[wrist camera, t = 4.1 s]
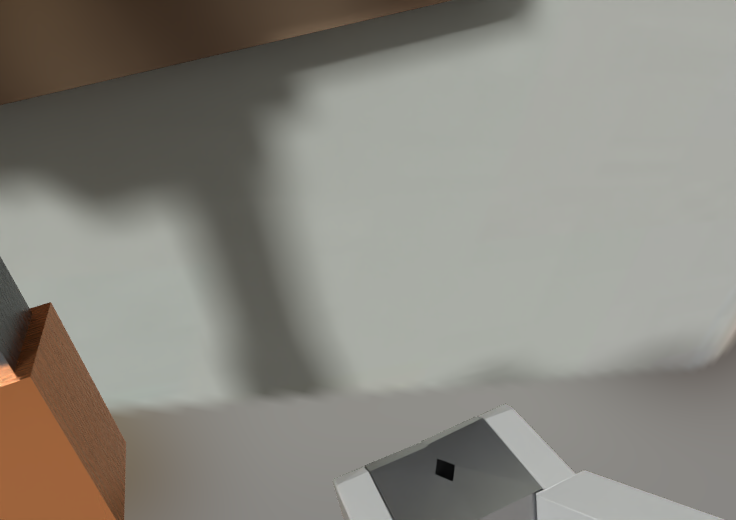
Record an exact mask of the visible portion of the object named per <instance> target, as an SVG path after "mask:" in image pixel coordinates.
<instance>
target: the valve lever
mask: <svg viewBox="0 0 736 520" xmlns="http://www.w3.org/2000/svg"><path fill="white" fill-rule="evenodd" d="M125 462H126V442H125V440H124V438H123V436H122V434H121V433H120V431H119V429H118V427H117V425H116V423H115V421H114V419H113V418H112V416H111V414H110V412H109V410H108V408H107V406H106V404H105V403H104V401H103V399H102V397H101V395H100V393H99V391H98V390H97V388H96V386H95V384H94V382H93V380H92V378H91V376H90V375H89V373H88V371H87V369H86V367H85V365H84V363H83V361H82V360H81V358H80V356H79V354H78V352H77V350H76V348H75V346H74V345H73V343H72V341H71V339H70V337H69V335H68V333H67V331H66V330H65V328H64V326H63V324H62V322H61V320H60V318H59V316H58V315H57V313H56V311H55V309H54V307H53V305H52V303H51V302H50V303H46V304H43V305H40V306H37V307H34V308H30V309H29V307H28V305H27V303H26V302H25V300H24V298H23V296H22V294H21V293H20V291H19V289H18V287H17V285H16V284H15V282H14V280H13V278H12V277H11V275H10V273H9V271H8V269H7V268H6V266H5V264H4V262H3V260H2V259H1V257H0V520H124V503H125V502H124V501H125Z"/></svg>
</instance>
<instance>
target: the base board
mask: <svg viewBox="0 0 736 520" xmlns="http://www.w3.org/2000/svg"><path fill="white" fill-rule="evenodd" d="M447 1H451V0H0V105H3V104H7V103H12V102H16V101H20V100H25V99H29V98H33V97H38V96H42V95H46V94H51V93H55V92H59V91H63V90H68V89H72V88H76V87H81V86H85V85H89V84H94V83H98V82H102V81H107V80H111V79H115V78H119V77H124V76H128V75H132V74H137V73H141V72H145V71H150V70H154V69H158V68H163V67H167V66H171V65H176V64H180V63H184V62H188V61H193V60H197V59H201V58H206V57H210V56H214V55H219V54H223V53H227V52H232V51H236V50H240V49H244V48H249V47H253V46H257V45H262V44H266V43H270V42H275V41H279V40H283V39H288V38H292V37H296V36H301V35H305V34H309V33H313V32H318V31H322V30H326V29H331V28H335V27H339V26H344V25H348V24H352V23H357V22H361V21H365V20H369V19H374V18H378V17H382V16H387V15H391V14H395V13H400V12H404V11H408V10H413V9H417V8H421V7H426V6H430V5H434V4H438V3H443V2H447Z"/></svg>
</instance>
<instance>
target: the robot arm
mask: <svg viewBox="0 0 736 520" xmlns="http://www.w3.org/2000/svg"><path fill="white" fill-rule="evenodd" d="M333 485H334V488H335V492H336V495H337V499H338V502H339V506H340V509H341V512H342V516H343V519H344V520H725V519H722V518H720V517H717V516H714V515H711V514H708V513H705V512H702V511H699V510H697V509H694V508H691V507H688V506H686V505H682V504H680V503H677V502H674V501H671V500H668V499H665V498H663V497H660V496H657V495H654V494H651V493H649V492H646V491H643V490H640V489H637V488H635V487H632V486H629V485H626V484H623V483H620V482H618V481H615V480H612V479H609V478H606V477H604V476H601V475H598V474H595V473H592V472H589V471H587V470H583V471H581V472H579V473H575V472H574V471H573V470H572V469H571V468H570V467H569V466H568V465H567V464H566V462H565V461H564V460H563V459H562V458H561V457H560V456H559V455H558V454H557V453H556V452H555V451H554V450H553V449H552V448H551V447H550V446H549V445H548V444H547V443H546V442H545V441H544V440H543V439H542V438H541V437H540V435H539V434H538V433H537V432H536V431H535V430H534V429H533V428H532V427H531V426H530V425H529V424H528V423H527V422H526V421H525V420H524V419H523V418H522V417H521V416H520V415H519V414H518V413H517V412H516V411H515V409H513V407H512V406H509V405H507V404H504V405H502V406H499V407H497V408H495V409H492V410H490V411H488V412H486V413H483V414H481V415H479V416H478V417H473V418H471V419H469V420H467V421H465V422H462V423H460V424H458V425H456V426H454V427H452V428H449V429H447V430H445V431H443V432H441V433H438V434H436V435H434V436H432V437H430V438H427V439H425V440H423V441H422V442H421V443H418V444H416V445H413V446H411V447H408V448H406V449H404V450H401V451H399V452H396V453H394V454H392V455H389V456H386V457H384V458H382V459H379V460H377V461H374V462H372V463H369V464H367V465H365V467H361V468H359V469H356V470H354V471H351V472H349V473H346V474H344V475H342V476H339V477H337V478H334V479H333Z"/></svg>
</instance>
